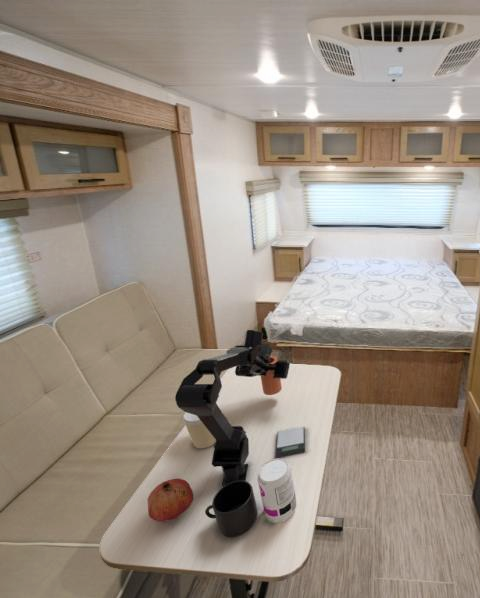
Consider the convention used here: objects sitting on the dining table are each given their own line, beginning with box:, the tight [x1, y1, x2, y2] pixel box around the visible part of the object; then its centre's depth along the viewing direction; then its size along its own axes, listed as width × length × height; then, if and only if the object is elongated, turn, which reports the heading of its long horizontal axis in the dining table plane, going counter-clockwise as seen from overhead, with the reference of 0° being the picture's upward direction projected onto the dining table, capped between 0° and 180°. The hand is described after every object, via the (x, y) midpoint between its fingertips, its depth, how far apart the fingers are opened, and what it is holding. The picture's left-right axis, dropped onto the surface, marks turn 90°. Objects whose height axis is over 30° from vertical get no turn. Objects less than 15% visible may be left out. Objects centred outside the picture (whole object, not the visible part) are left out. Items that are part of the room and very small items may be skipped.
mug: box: [204, 480, 259, 538], centre depth 89 cm, size 9×12×9 cm
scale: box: [275, 426, 306, 458], centre depth 115 cm, size 10×9×2 cm
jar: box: [260, 355, 283, 396], centre depth 130 cm, size 7×7×13 cm
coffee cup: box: [182, 412, 216, 449], centre depth 114 cm, size 9×9×12 cm
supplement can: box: [257, 458, 297, 524], centre depth 90 cm, size 8×8×15 cm
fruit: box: [147, 477, 195, 523], centre depth 91 cm, size 11×10×10 cm
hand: (271, 373), depth 131 cm, fingers closed on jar, 7 cm apart
